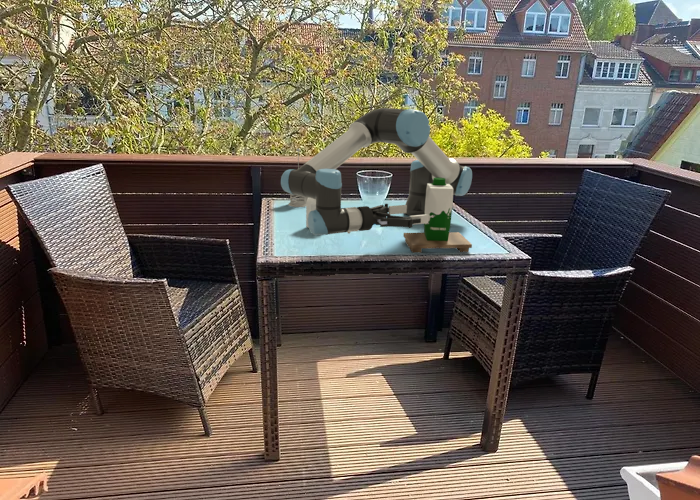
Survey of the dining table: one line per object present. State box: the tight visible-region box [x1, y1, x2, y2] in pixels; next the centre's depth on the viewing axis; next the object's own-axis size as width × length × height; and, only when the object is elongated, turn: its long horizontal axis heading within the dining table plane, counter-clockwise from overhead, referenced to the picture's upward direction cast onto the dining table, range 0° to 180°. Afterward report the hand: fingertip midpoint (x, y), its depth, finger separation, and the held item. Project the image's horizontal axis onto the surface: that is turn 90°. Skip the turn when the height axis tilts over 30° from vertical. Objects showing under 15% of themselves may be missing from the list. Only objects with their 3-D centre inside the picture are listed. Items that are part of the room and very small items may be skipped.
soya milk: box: [423, 177, 454, 241], centre depth 165 cm, size 9×9×20 cm
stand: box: [402, 231, 473, 254], centre depth 168 cm, size 20×14×3 cm
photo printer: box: [305, 197, 316, 229], centre depth 184 cm, size 10×4×12 cm, turn 61°
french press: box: [287, 148, 309, 208], centre depth 219 cm, size 10×12×25 cm
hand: (416, 213), depth 161 cm, fingers open, 13 cm apart
